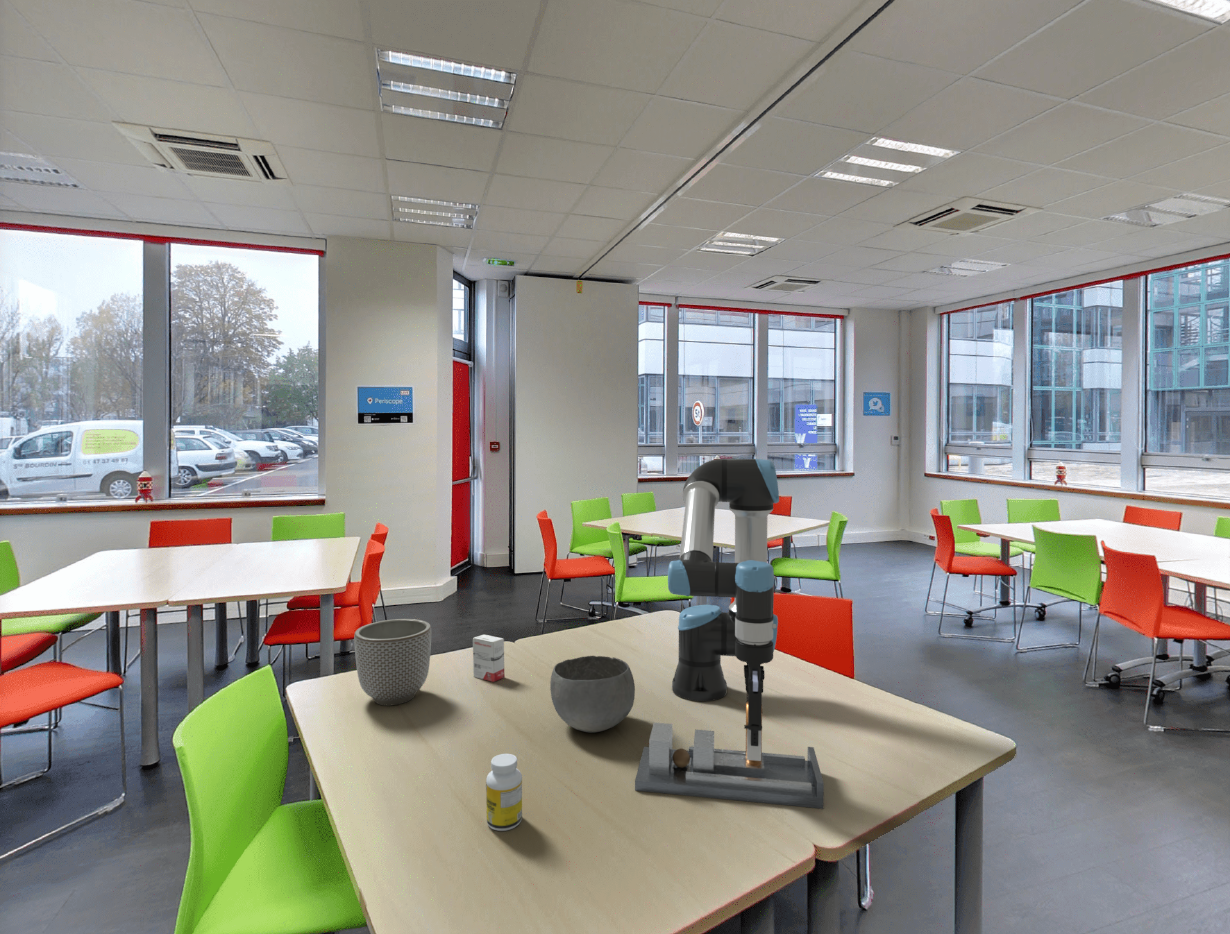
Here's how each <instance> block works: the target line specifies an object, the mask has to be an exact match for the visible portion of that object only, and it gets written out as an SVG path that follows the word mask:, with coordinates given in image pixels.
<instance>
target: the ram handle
mask: <svg viewBox="0 0 1230 934" xmlns="http://www.w3.org/2000/svg"><path fill="white" fill-rule="evenodd" d="M746 701H747V700H746ZM746 701H745V725H748V701H747V702H746ZM692 747H693V772H697V773H708V774H719V775H730V776H741V777H752V778H763V779H764V761H763V757H762V753H763V730H762V731H761V761H755V760H747V729H745V751H746V755H737V754H726V753H714V749H715V730H709V729H708V730H707V729H695V730H694V736H693V746H692Z"/></svg>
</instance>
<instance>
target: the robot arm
mask: <svg viewBox="0 0 1230 934" xmlns="http://www.w3.org/2000/svg"><path fill="white" fill-rule="evenodd" d="M779 493H780V492H779V484H778V477H777V471H776V466H775V463H774V462H773V461H772V460H769V459H763V458H762V459H761V458H734V459H732V458H731V459H729V458H728V459H727V458H726V459H725V458H724V459H723V458H716V459H711V460H709V461H708V460H707V461H706V462H703V463H702V464H701V465H699V466H698V467H697V468H696V469H694V470H692V472H691V474H690V475H689V476H688V478H687V479H686V481H685V483H684V485H683V490H682V501H683V503H684V506H685V507H684V515H683V521H682V522H683V524H682V532H681V541H680V548H679V549H680V551H679V558H678V559H677V560H671V561H670V562H669V564H668V569H667V589H668V592H669V593H670V594H672V595H675V596H677V595H678V596H684V597H717V598H729V599H730V598H732V599H733V598H734V601H733V602H732V603H731V604H729V606H728V612H727V611H726V612H725V611H724V612H722V609H721V607H720V606H719V605H716V604H715V605H713V604H700V605H692V606H689V607H686V608H684V609H682V611H681V612H680V613H679V616H678V625H677V629H678V663H677V666H676V669H675V672H674V676H673V679H672V682H671V683H672V684H671V690H672V692H673V694H674V695H676V696H677V697H679V698H681V699H685V700H689V701H693V702H710V701H716V700H720V699H722V698H724V697H726V695H727V693H728V690H727V689H728V684H727V681H726V679H725V675H724V672H723V669H722V665H721V664H722V663H721V660H722V659H721V656H723V657H735V658H736V659H737V660H739V661H740V662H743V663H745V664H743V673H744V674H743V677H744V684H745V691H746V701H745V703H746V702H747V701H748V725H746V724H744V727H743V728H744V729H745V730H746V729H747V760H755V761H761V731H762V732H763V712H764V711H763V701H762V700H763V693H764V680H765V677H766V676H765V674H766V673H765V670H764V669H765V668H764V665H763V664H768V663H770V662H772V661H773V659H774V653H775V649H776V643H777V637H778V636H777V635H778V625H779V621H778V620H779V618H778V615H776V614H775V613H774V602H775V601H774V599H775V598H774V597H775V593H774V592H775V590H774V589H775V587H774V586H775V581H776V580H775V573H774V567H773V565H772V564H770V563H768V516H769V515H770V514H771V513H772V511H773V510H774V504H775V505H776V504H778V503H779V502H780V495H779ZM719 502H720V503H721V502H722V503H729V507H728V508H729V511H731V512H732V513H733V515H734V562H725V561H724V562H720V561H719V562H718V561H713V559H714V558H713V555H714V537H715V536H714V534H715V533H714V532H715V514H716V506H717V505H718V504H719Z"/></svg>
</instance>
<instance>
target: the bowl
mask: <svg viewBox="0 0 1230 934" xmlns="http://www.w3.org/2000/svg"><path fill="white" fill-rule="evenodd" d="M633 675H634V674H633V673H632V670H631V667H630V666H629V664H628V663H627V662H626V661H624V660H622V659H619V658H617V657H613V656H612V657H610V656H604V655H602V656H601V655H597V656H596V655H586V656H581V657H576V658H572V659H564V660H562V661H561V662H558V663H556V664H555V665H554V667H553V670H552V672H551V676H550V682H549V683H550V685H549V686H550V690H549V691H550V697H551V702H552V705H553V707H554V710H555V712H556V713H557V715H558V716H559V717H560V719H561V720H562V722H564V723H565V724H567V725H568V726H570V727H571V728H573V729H575V730H577V731H581V732H583V733H584V732H585V733H588V734H589V733H590V734H591V733H592V734H593V733H594V734H595V733H600V732H603V731H607V730H608V729H611V728H614V727H615V726H617V725H619V724H620V723H621V722H622V721H624V719H626V718H627V717H628V716H629V714H630V712H631V711H632V708H633V706H634V703H635V695H636V693H635V692H636V688H635V679H634V676H633Z"/></svg>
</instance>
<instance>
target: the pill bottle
mask: <svg viewBox="0 0 1230 934" xmlns="http://www.w3.org/2000/svg"><path fill="white" fill-rule="evenodd" d="M517 767H518V758H517V756H516V755H514V754H511V753H500V754H497V755H495V756H493V757H492V758H491V761H490V769H491V771H489V772H488V774H487V776H486V778H485V779H486V782H485V788H486V789H485V790H486V798H485V799H486V824H487V825H488V827H489V828H490V829H492V830H495V831H499V832H506V831H510V830H513V829H515V828H516V827H517V826H518V825H520V823H521V822H522V820H523V775H522V772H521V771H520V769H518V768H517Z"/></svg>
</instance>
